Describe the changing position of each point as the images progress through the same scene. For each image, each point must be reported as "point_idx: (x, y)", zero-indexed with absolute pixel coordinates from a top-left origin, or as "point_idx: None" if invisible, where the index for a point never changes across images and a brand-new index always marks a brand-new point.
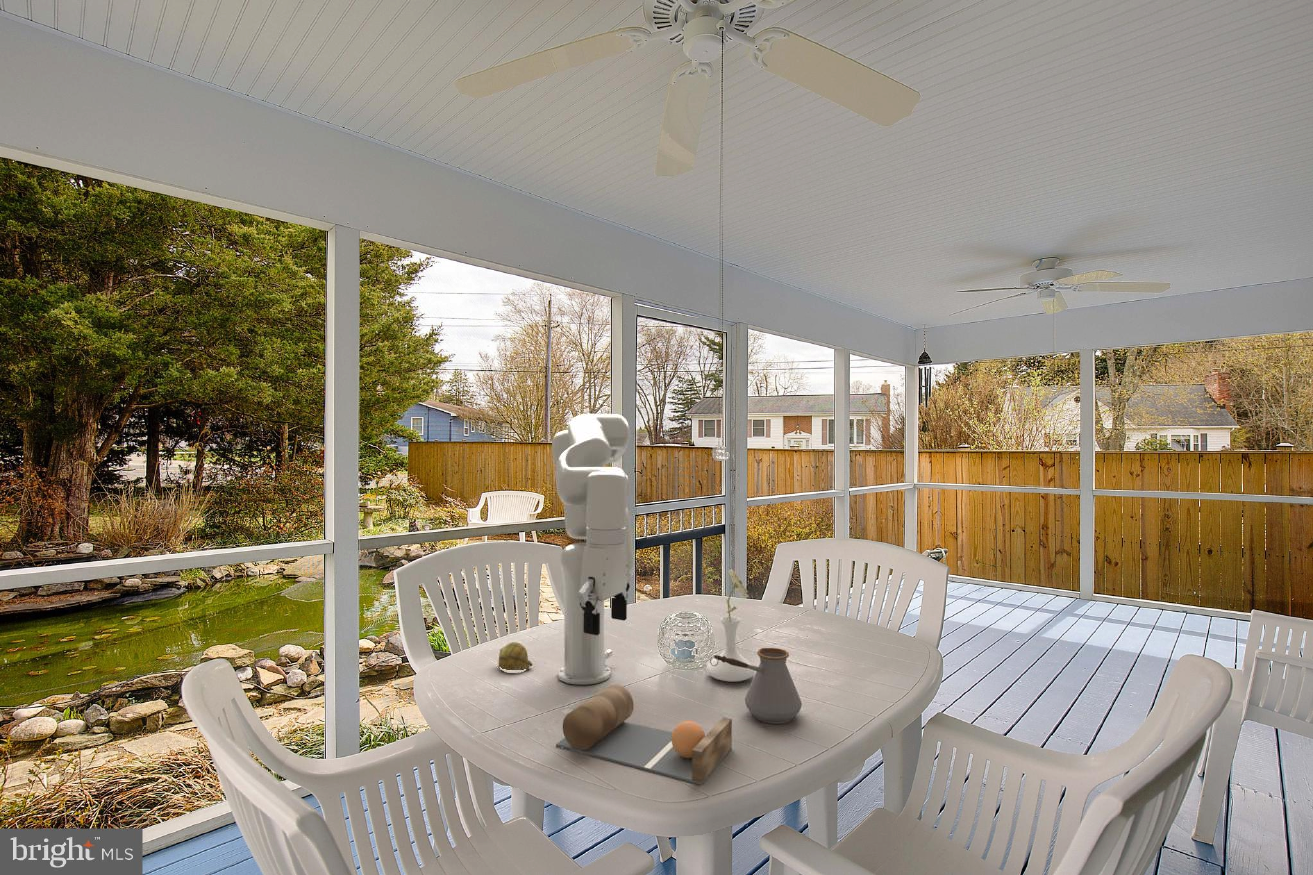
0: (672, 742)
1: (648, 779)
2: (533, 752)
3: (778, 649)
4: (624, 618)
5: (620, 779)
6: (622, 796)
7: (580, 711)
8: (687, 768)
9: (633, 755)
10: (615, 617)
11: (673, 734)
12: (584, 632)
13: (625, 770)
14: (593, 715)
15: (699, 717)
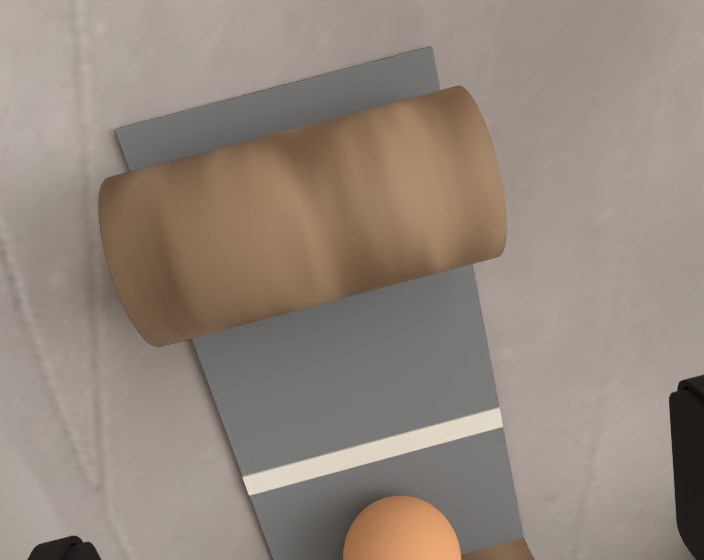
0: (351, 534)
1: (212, 513)
2: (11, 99)
3: None
4: (694, 551)
5: (147, 462)
6: (88, 527)
7: (123, 301)
8: (330, 558)
9: (274, 404)
10: (683, 446)
11: (359, 553)
12: (47, 544)
13: (197, 436)
14: (181, 329)
15: (666, 358)
